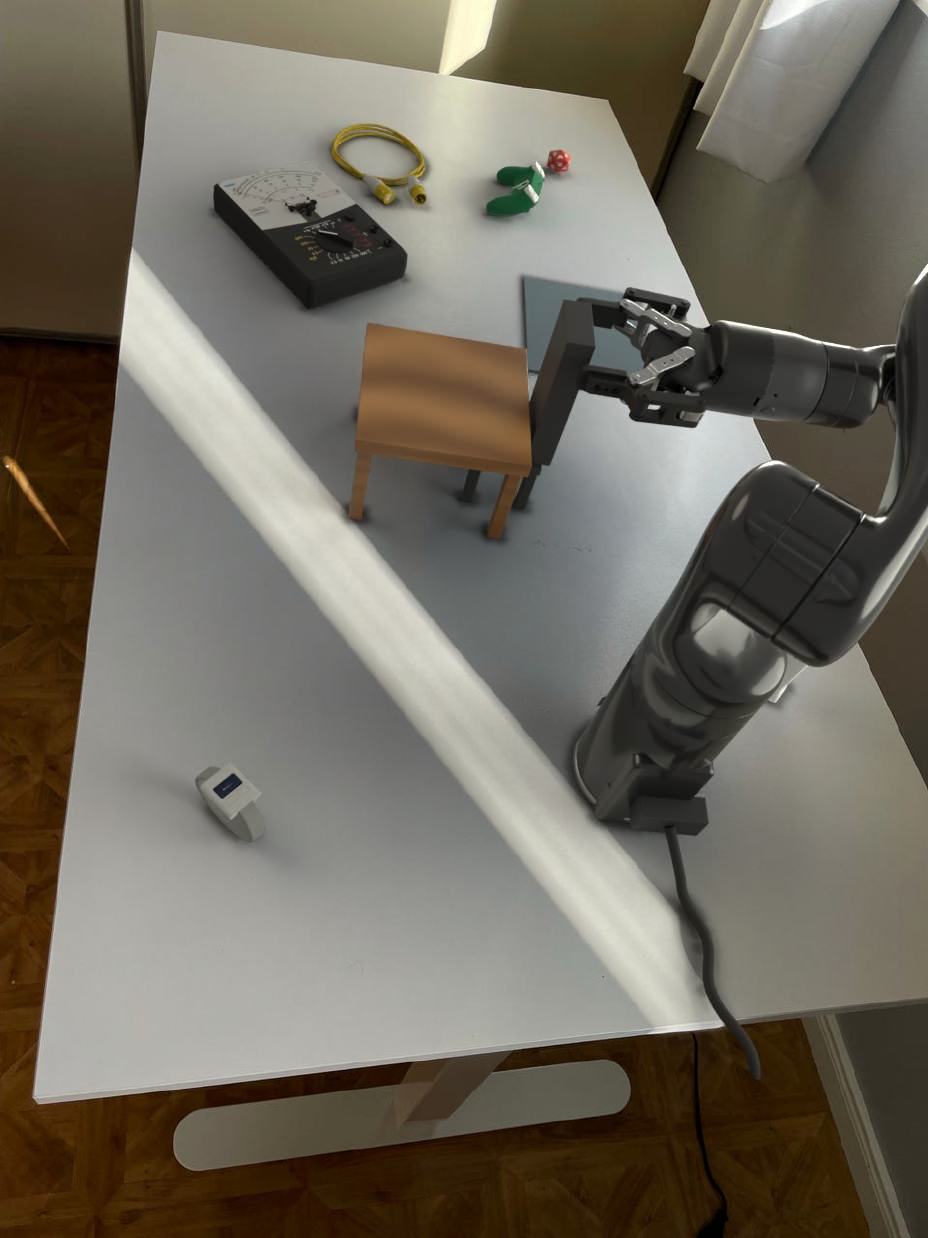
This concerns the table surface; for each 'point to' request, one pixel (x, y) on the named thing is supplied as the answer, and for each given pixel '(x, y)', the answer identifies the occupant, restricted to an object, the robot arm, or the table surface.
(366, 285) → the multimeter
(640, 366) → the mat
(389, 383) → the side table
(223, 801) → the wristwatch
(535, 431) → the chair
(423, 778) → the table surface
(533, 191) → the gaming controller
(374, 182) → the extension cord
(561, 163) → the die
